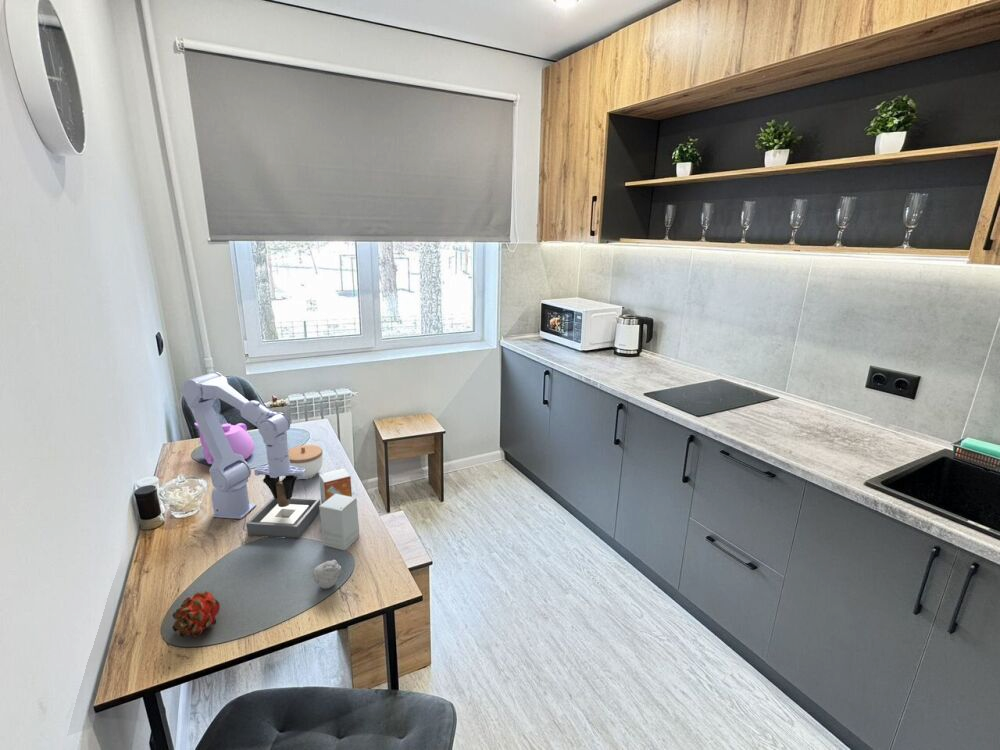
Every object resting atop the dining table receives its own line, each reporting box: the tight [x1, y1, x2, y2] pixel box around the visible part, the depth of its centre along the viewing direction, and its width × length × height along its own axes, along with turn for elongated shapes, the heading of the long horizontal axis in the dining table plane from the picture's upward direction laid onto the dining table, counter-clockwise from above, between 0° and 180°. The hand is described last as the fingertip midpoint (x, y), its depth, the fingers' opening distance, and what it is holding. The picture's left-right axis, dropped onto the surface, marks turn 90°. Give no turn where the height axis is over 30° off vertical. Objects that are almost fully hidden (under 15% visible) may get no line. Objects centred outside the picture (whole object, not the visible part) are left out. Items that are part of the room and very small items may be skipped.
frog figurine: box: [312, 559, 342, 589], centre depth 117 cm, size 6×7×7 cm
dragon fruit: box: [171, 590, 221, 639], centre depth 105 cm, size 8×8×12 cm
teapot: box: [194, 422, 255, 465], centre depth 183 cm, size 22×22×14 cm
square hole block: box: [245, 496, 321, 540], centre depth 143 cm, size 15×15×4 cm
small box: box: [318, 467, 353, 504], centre depth 148 cm, size 8×6×13 cm
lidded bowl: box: [288, 444, 323, 480], centre depth 171 cm, size 13×13×11 cm
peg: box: [276, 480, 290, 507], centre depth 141 cm, size 3×3×7 cm
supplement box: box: [319, 494, 360, 551], centre depth 134 cm, size 7×7×13 cm
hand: (283, 497), depth 142 cm, fingers closed on peg, 3 cm apart
